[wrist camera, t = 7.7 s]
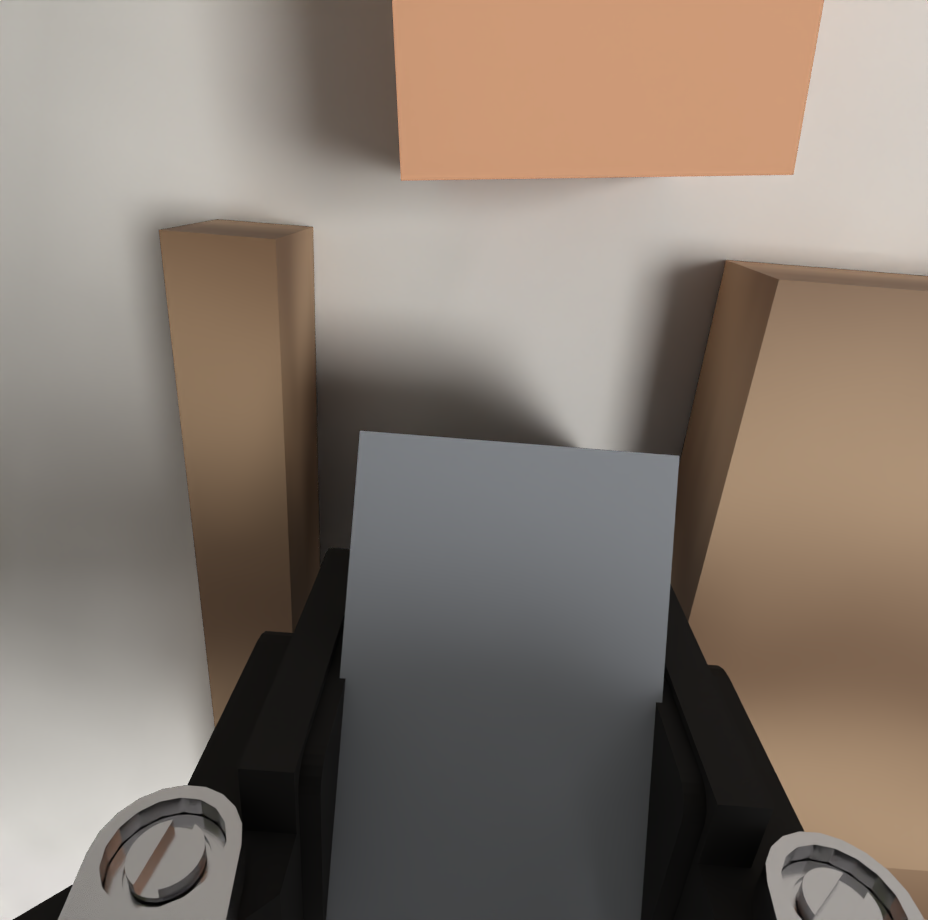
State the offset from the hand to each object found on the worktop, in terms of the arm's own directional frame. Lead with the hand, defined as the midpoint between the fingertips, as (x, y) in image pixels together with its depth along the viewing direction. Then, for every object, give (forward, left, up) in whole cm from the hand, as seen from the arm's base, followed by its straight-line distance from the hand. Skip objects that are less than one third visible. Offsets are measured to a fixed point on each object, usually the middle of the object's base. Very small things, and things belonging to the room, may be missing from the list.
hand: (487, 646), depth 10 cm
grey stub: (+2, 0, -1) cm, 2 cm away
